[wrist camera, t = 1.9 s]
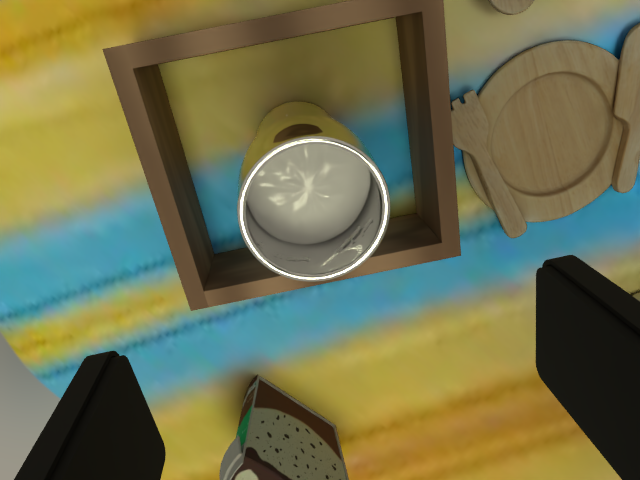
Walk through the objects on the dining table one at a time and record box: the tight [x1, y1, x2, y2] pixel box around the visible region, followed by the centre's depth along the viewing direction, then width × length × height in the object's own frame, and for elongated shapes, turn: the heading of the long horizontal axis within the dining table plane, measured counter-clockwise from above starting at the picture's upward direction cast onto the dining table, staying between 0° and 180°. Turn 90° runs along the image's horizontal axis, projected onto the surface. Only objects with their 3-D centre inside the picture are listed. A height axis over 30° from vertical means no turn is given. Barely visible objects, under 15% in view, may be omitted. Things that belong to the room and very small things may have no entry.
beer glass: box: [237, 101, 390, 282], centre depth 27 cm, size 7×7×15 cm
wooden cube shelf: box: [103, 0, 461, 311], centre depth 31 cm, size 18×16×6 cm
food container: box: [220, 375, 349, 480], centre depth 39 cm, size 12×6×10 cm, turn 47°
